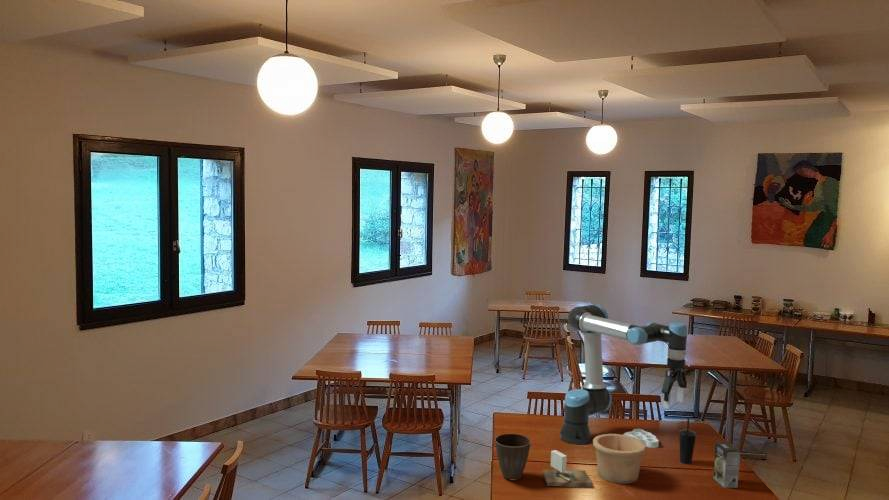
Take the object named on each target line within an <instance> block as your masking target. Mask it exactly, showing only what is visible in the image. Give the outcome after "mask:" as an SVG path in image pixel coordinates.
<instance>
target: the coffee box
mask: <svg viewBox="0 0 889 500" xmlns="http://www.w3.org/2000/svg"><path fill="white" fill-rule="evenodd" d="M714 448H715V449H714V464H713V480H715V481H716V482H717V483H718V484H719V485H720V486H721V487H722V488H723V489H724V488H725V489H727V488H729V489H731V488H738V486H739V473H740V459H741V458H740V457H741V450H740V448H737V447H736V446H735V445H734V444H733V443H731V442H724V441H715V446H714Z"/></svg>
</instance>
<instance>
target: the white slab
mask: <svg viewBox="0 0 889 500" xmlns="http://www.w3.org/2000/svg"><path fill="white" fill-rule="evenodd" d="M567 457H568V455H566V454H565V453H563V452H560V451H559V450H555V449H554V450H551V451H550V467H552V469H553V468H554V470H556V475H559V476H561V477H563V478H564V479H566V480H568V481H570V479H569V478H567V477H565V476H563V475H562V474H560V472H565V471H566V470H567V460H568V459H567Z"/></svg>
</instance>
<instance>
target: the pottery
mask: <svg viewBox="0 0 889 500" xmlns="http://www.w3.org/2000/svg"><path fill="white" fill-rule="evenodd" d="M592 446H593V447H594V448H595V452H596V464H597V475H599V477H600V478H601V479H603V480H605V481H606V482H610V483H614V484H618V485H619V484H621V485H622V484H623V485H626V484H628V485H629V484H633V483H635V482H637V481H638V479H639V475H640V469H641V467H642V466H641V464H642V459H643V456H644V454H645V453H646V451H647V446H646V445H645V444H644V443H643V442H642V441H641V440H639V439H636V438H634V437H630V436H627V435H623V434H620V433H619V434H618V433H604V434H599V435H596V436H595V437H594V438H593V439H592Z"/></svg>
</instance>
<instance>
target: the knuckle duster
mask: <svg viewBox="0 0 889 500" xmlns="http://www.w3.org/2000/svg"><path fill="white" fill-rule="evenodd" d="M622 435H627V436H630V437H634V438H636V439H639V440H641V441H642V442H643V443H644V444H645V445H646V448H650V449H656V448H657V449H658V448H659V443H660V442H659V439H658V438H657V436H656V435H654V434H653V433H652V432H649V431H646V430H644V429H642V428H634V429H632V431H627V432H624V433H623V434H622Z"/></svg>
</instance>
